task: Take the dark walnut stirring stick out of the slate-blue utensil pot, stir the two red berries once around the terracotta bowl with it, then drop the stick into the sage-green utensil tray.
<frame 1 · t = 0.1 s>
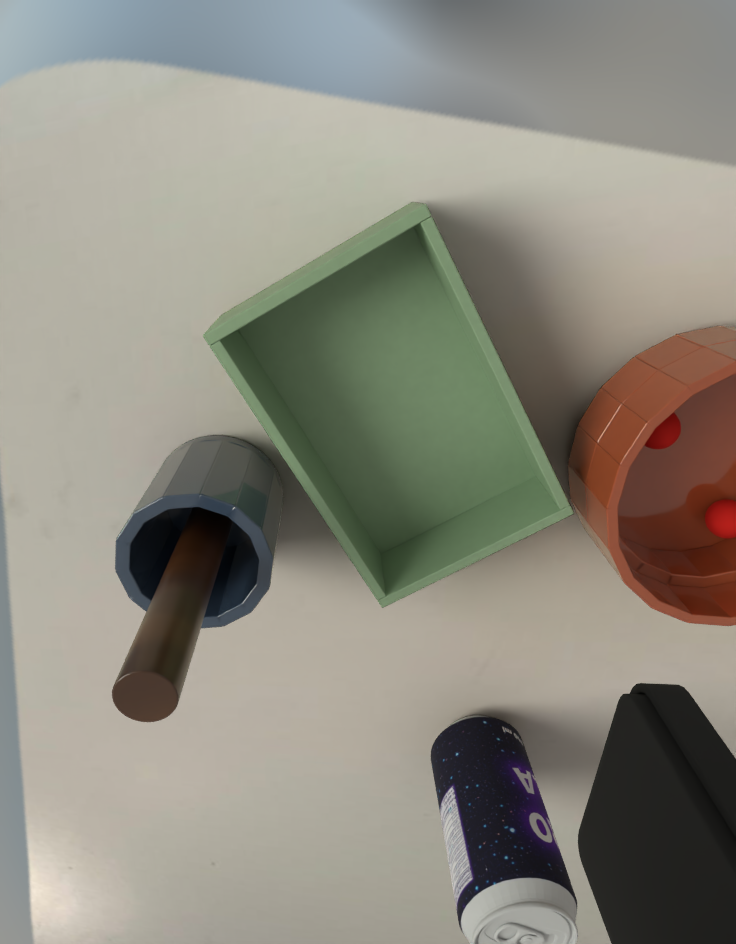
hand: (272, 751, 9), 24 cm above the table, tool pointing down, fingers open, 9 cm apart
tray: (392, 400, 32), on the table
holder: (220, 493, 34), on the table
bowl: (688, 450, 34), on the table
berry a: (726, 518, 34), point 2 cm above the table, touching bowl
beverage can: (473, 738, 41), on the table
stick: (218, 500, 33), point 1 cm above the table, touching holder
berry b: (657, 428, 32), point 2 cm above the table, touching bowl
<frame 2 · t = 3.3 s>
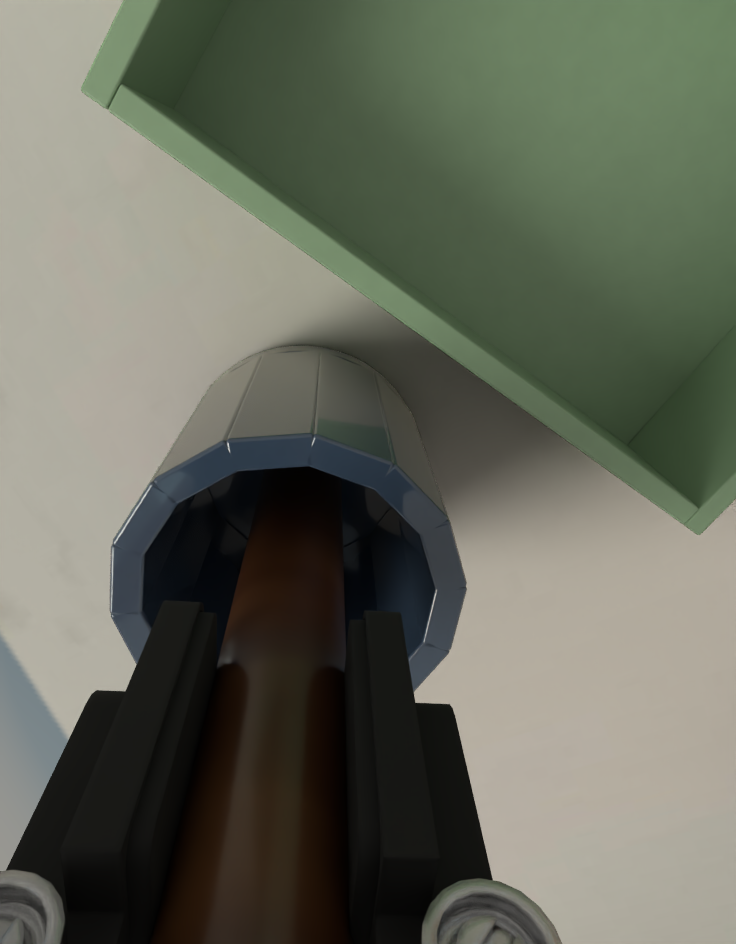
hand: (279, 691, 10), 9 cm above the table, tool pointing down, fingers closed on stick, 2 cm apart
tray: (538, 131, 16), on the table
holder: (304, 458, 18), on the table
stick: (303, 469, 18), point 1 cm above the table, touching gripper, holder
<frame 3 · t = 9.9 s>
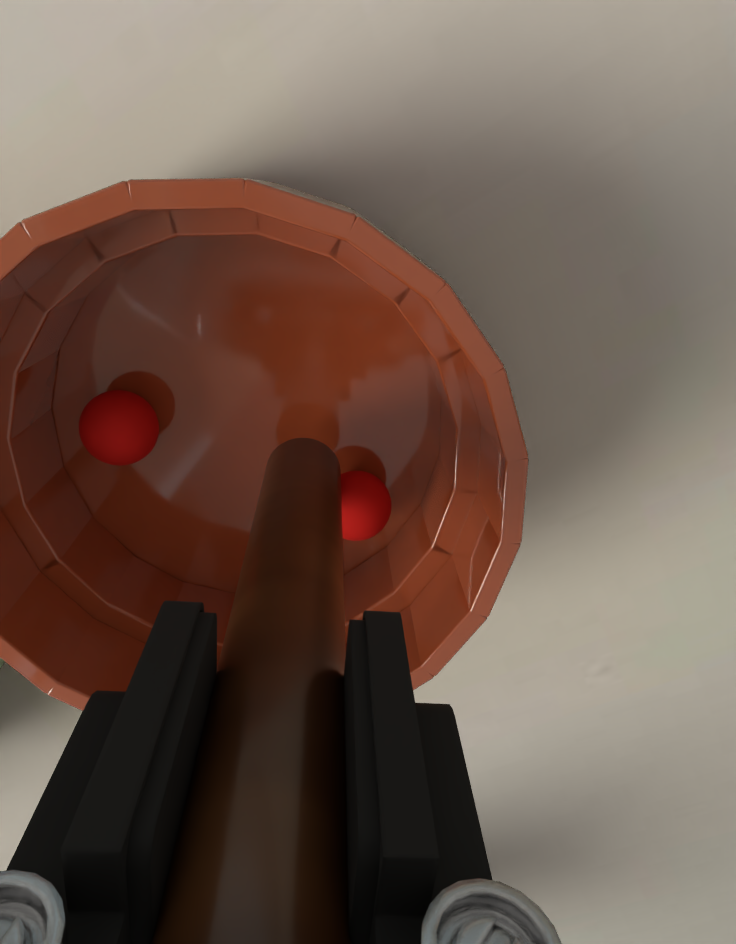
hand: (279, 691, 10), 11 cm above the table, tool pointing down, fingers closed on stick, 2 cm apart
bowl: (254, 422, 20), on the table
berry a: (356, 505, 19), point 2 cm above the table, tilted 7°, touching bowl
stick: (303, 471, 18), point 2 cm above the table, touching gripper
berry b: (119, 427, 18), point 2 cm above the table, touching bowl
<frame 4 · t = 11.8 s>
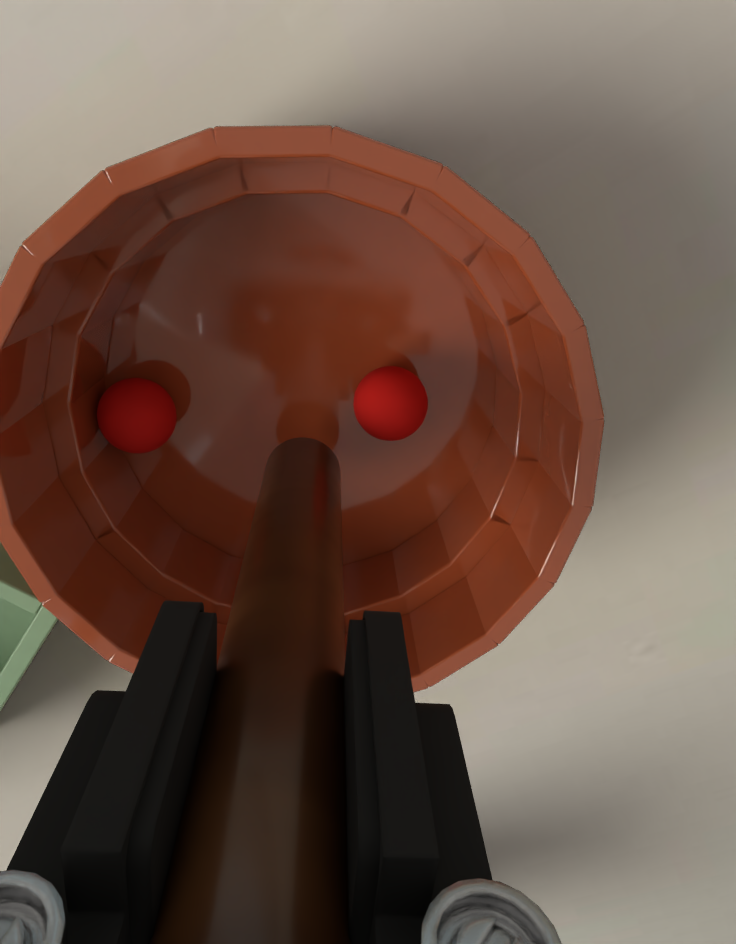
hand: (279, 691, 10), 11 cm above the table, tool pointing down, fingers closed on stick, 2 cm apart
bowl: (305, 393, 19), on the table
berry a: (390, 403, 18), point 2 cm above the table, tilted 130°, touching bowl
stick: (303, 471, 18), point 2 cm above the table, touching gripper
berry b: (137, 415, 18), point 2 cm above the table, tilted 68°, touching bowl
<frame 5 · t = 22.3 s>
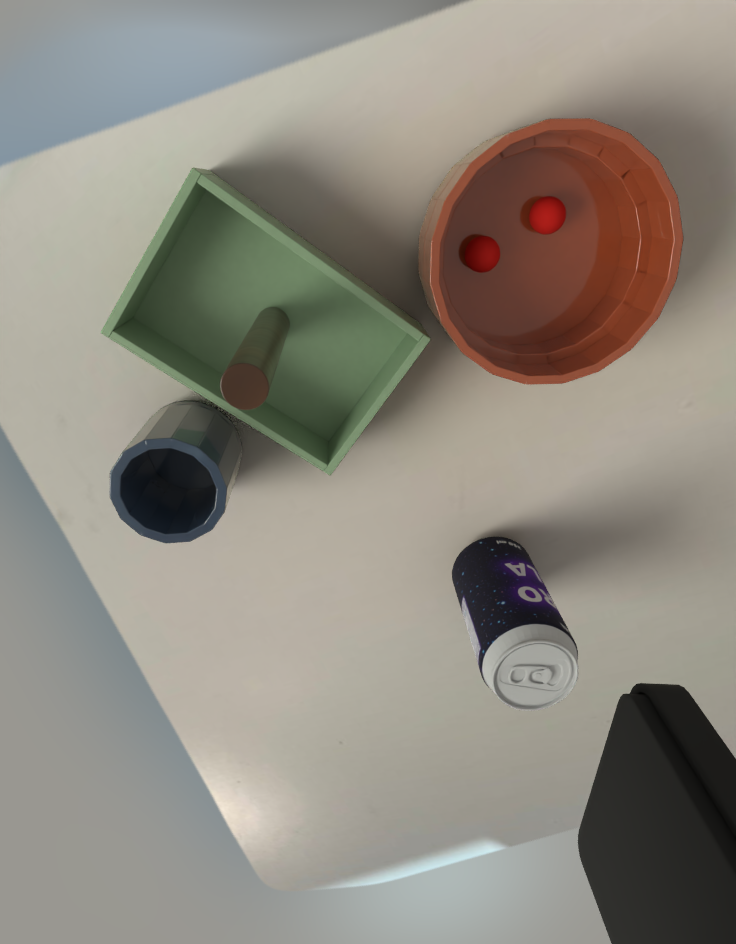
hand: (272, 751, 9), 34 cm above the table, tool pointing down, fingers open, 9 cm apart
tray: (274, 321, 40), on the table
holder: (192, 447, 43), on the table
bowl: (525, 251, 40), on the table
berry a: (547, 215, 37), point 2 cm above the table, tilted 119°, touching bowl
beverage can: (488, 563, 48), on the table
stick: (273, 323, 40), resting on tray
berry b: (482, 254, 38), point 2 cm above the table, tilted 28°, touching bowl
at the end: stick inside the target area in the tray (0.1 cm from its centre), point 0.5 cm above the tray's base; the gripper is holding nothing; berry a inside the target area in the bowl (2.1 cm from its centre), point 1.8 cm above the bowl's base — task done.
